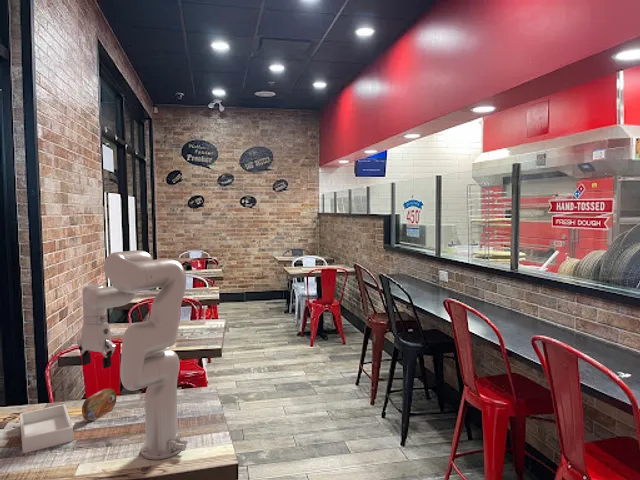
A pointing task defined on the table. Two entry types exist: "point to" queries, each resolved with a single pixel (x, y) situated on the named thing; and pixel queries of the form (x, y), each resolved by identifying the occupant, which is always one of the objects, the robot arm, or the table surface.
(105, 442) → the table surface
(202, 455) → the table surface
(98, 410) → the tin
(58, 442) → the tote
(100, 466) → the table surface
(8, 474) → the table surface
